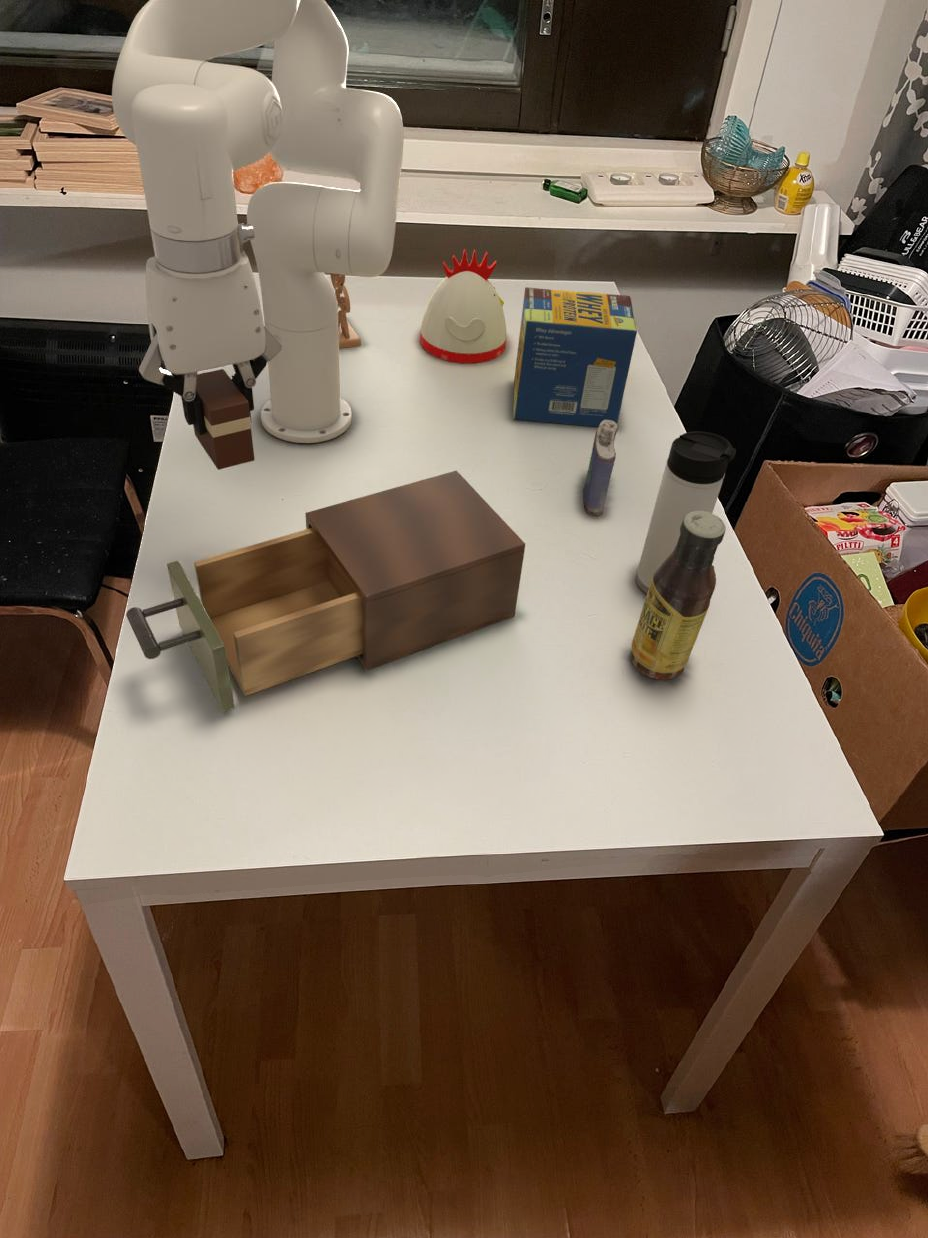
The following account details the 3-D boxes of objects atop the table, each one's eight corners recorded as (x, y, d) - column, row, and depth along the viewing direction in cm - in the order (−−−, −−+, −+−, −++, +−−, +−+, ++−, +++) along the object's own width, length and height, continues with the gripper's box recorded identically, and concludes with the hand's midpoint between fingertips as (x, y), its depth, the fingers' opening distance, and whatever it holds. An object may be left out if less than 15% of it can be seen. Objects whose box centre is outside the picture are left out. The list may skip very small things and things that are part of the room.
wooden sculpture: (361, 345, 146) (361, 271, 138) (338, 348, 145) (336, 274, 136) (343, 319, 152) (341, 247, 143) (320, 322, 150) (317, 249, 142)
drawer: (169, 731, 88) (153, 669, 82) (128, 641, 96) (111, 578, 90) (383, 654, 97) (384, 592, 91) (330, 577, 105) (327, 516, 99)
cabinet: (366, 670, 96) (365, 596, 89) (309, 586, 105) (305, 512, 98) (514, 616, 104) (525, 543, 97) (450, 541, 113) (456, 469, 105)
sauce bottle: (623, 642, 102) (662, 497, 88) (677, 641, 103) (725, 498, 89) (635, 686, 98) (678, 541, 84) (692, 685, 98) (744, 542, 84)
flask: (603, 517, 118) (618, 446, 111) (580, 514, 118) (594, 443, 111) (606, 476, 125) (621, 407, 117) (584, 473, 125) (598, 404, 118)
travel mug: (678, 609, 107) (724, 466, 93) (626, 586, 109) (664, 443, 95) (698, 580, 111) (745, 439, 97) (648, 559, 113) (687, 417, 99)
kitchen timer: (505, 366, 144) (516, 272, 134) (418, 359, 144) (421, 265, 134) (504, 325, 154) (514, 235, 144) (422, 318, 154) (426, 228, 144)
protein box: (512, 383, 141) (523, 285, 130) (612, 392, 141) (632, 294, 130) (512, 420, 133) (524, 319, 122) (617, 429, 134) (639, 329, 123)
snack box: (217, 470, 94) (209, 410, 89) (194, 435, 98) (184, 376, 93) (255, 460, 96) (249, 401, 91) (231, 426, 100) (223, 368, 95)
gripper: (269, 216, 88) (283, 387, 100) (89, 243, 81) (128, 422, 94) (301, 247, 83) (311, 422, 96) (113, 278, 76) (151, 461, 89)
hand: (220, 420), depth 95 cm, fingers closed on snack box, 4 cm apart
